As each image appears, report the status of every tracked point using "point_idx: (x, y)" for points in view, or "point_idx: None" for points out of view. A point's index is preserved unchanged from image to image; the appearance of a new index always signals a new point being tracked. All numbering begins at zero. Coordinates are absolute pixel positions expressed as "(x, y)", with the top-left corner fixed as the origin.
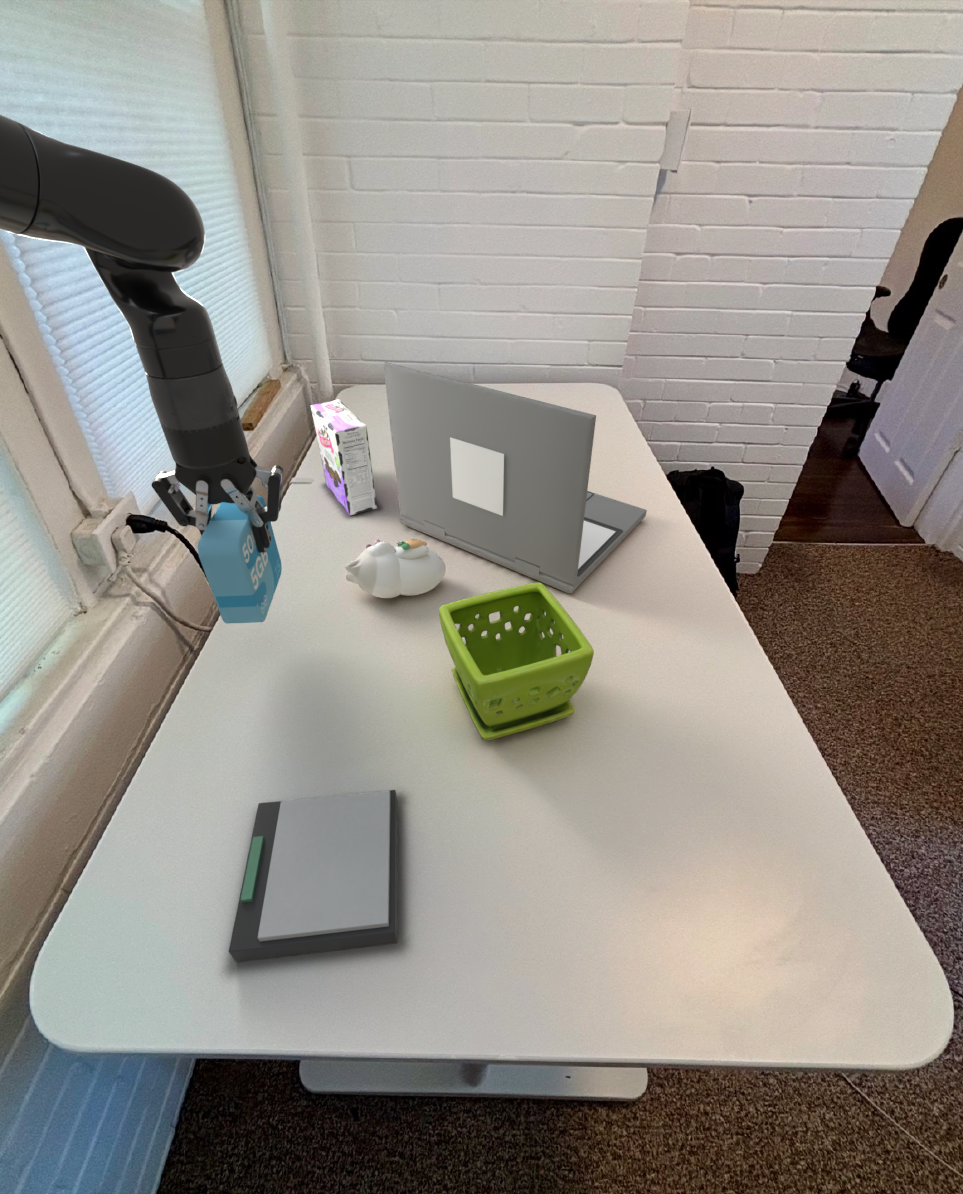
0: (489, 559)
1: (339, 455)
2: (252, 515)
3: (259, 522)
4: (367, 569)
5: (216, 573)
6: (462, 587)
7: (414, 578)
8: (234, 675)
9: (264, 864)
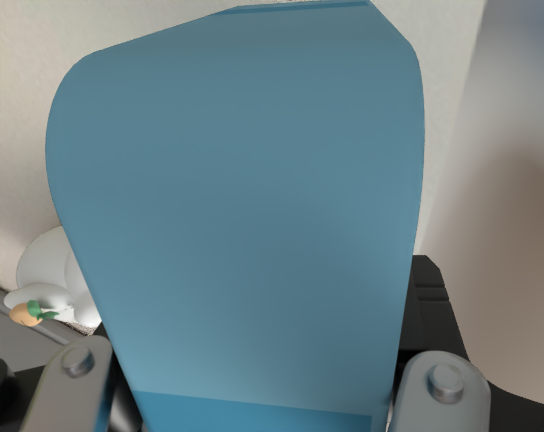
0: (1, 294)
1: None
2: (64, 414)
3: (61, 360)
4: None
5: (316, 23)
6: (23, 240)
7: (46, 243)
8: (390, 12)
9: None
